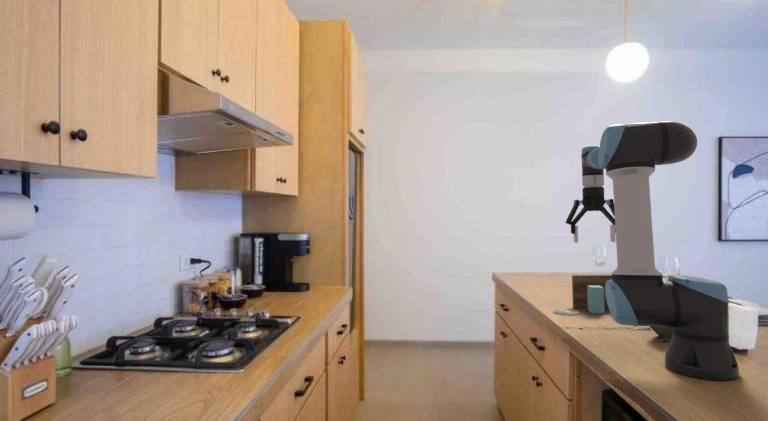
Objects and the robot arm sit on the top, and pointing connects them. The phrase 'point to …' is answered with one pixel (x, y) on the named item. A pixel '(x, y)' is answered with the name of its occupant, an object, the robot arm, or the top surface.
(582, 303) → the dark brown wooden box
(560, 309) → the saucer
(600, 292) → the block
